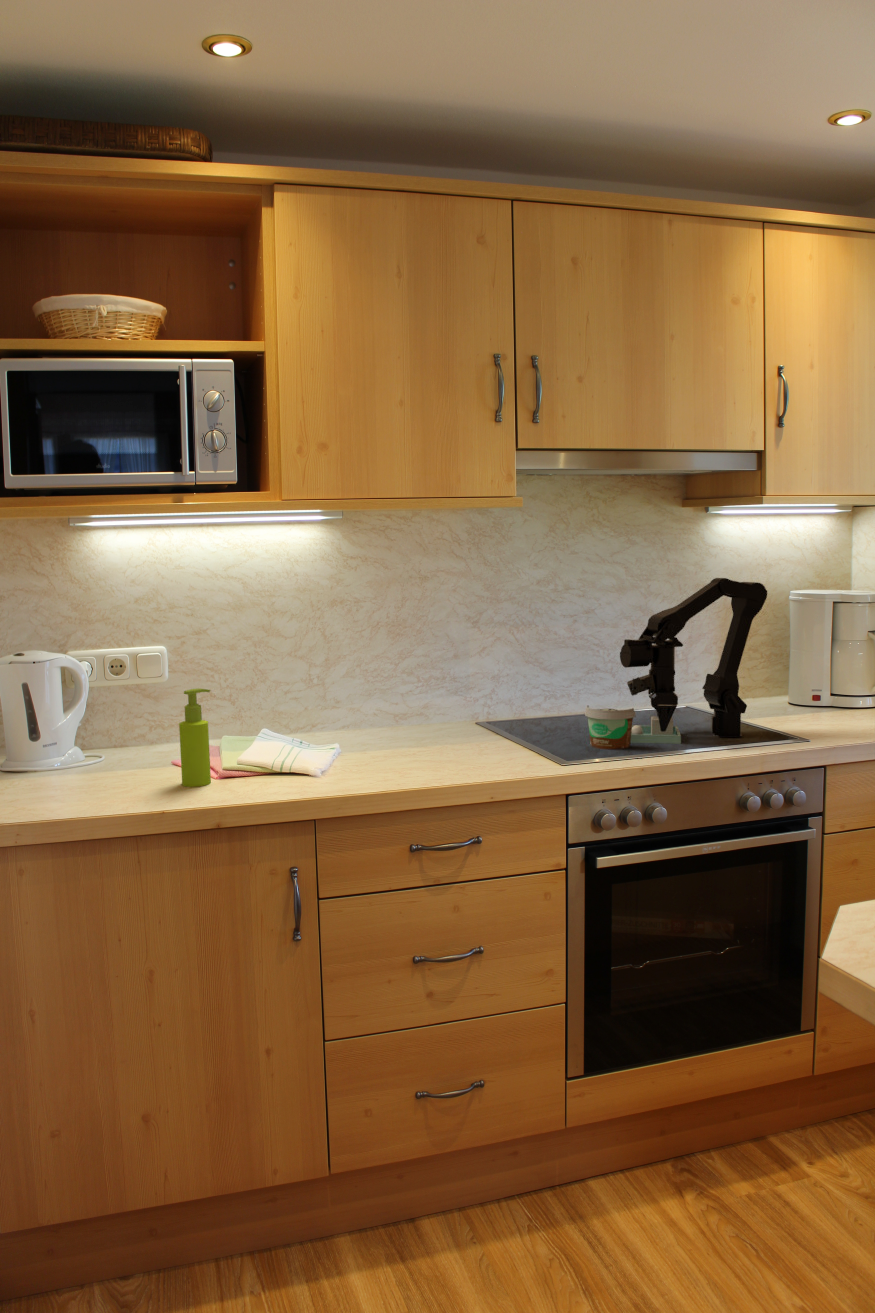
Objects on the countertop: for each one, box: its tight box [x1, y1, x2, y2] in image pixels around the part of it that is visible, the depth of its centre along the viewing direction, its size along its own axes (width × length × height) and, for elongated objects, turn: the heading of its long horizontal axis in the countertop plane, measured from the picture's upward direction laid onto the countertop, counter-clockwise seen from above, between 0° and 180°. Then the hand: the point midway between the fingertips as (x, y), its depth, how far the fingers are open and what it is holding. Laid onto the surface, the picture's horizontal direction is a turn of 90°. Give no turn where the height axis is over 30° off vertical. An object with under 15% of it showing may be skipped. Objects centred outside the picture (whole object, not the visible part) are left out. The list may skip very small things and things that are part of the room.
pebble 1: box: [631, 724, 643, 732], centre depth 234 cm, size 3×3×3 cm
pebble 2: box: [632, 728, 643, 735], centre depth 230 cm, size 3×3×3 cm
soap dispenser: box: [178, 688, 212, 788], centre depth 196 cm, size 6×7×20 cm
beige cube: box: [650, 715, 674, 735], centre depth 231 cm, size 5×5×5 cm
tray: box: [630, 725, 682, 745], centre depth 232 cm, size 13×12×2 cm
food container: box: [584, 705, 637, 750], centre depth 222 cm, size 12×6×10 cm, turn 62°
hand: (662, 727), depth 231 cm, fingers open, 9 cm apart
